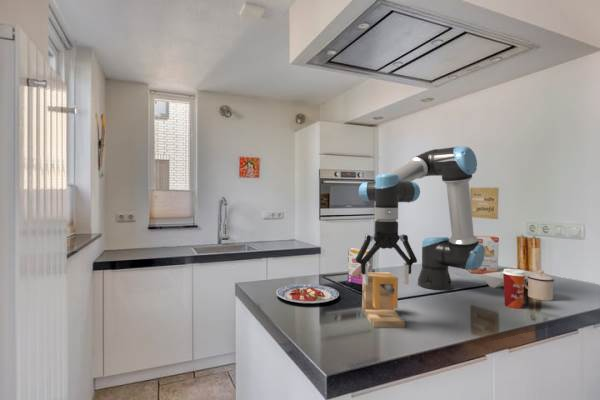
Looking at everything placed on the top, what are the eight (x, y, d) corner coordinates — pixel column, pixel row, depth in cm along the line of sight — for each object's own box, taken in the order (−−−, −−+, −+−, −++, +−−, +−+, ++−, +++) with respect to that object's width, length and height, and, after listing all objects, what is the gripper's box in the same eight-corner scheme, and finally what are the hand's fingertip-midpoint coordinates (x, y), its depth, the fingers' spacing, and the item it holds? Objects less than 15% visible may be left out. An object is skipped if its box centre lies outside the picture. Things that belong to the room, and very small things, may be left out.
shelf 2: (542, 284, 164) (542, 274, 163) (504, 290, 151) (504, 279, 151) (518, 279, 174) (518, 269, 174) (481, 284, 161) (481, 274, 161)
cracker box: (471, 273, 184) (472, 236, 184) (467, 271, 190) (468, 235, 190) (498, 274, 182) (499, 237, 182) (493, 272, 188) (494, 236, 188)
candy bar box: (347, 282, 160) (347, 248, 160) (351, 280, 164) (351, 247, 164) (369, 286, 154) (369, 251, 154) (372, 284, 158) (373, 250, 158)
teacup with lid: (558, 300, 137) (559, 272, 137) (543, 302, 134) (543, 273, 134) (530, 292, 148) (531, 266, 148) (515, 293, 145) (516, 267, 145)
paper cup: (517, 310, 123) (518, 273, 123) (497, 304, 130) (498, 269, 130) (529, 307, 127) (530, 271, 127) (509, 301, 133) (509, 267, 133)
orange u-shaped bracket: (372, 305, 111) (372, 275, 111) (394, 305, 111) (394, 275, 111) (375, 308, 108) (375, 278, 108) (397, 308, 108) (397, 278, 108)
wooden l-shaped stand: (361, 310, 120) (362, 272, 120) (388, 310, 121) (389, 272, 121) (374, 329, 103) (375, 284, 103) (406, 329, 104) (407, 285, 103)
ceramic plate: (267, 292, 142) (268, 285, 142) (320, 286, 153) (320, 280, 153) (290, 311, 119) (290, 303, 119) (350, 303, 129) (351, 295, 129)
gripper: (351, 221, 105) (351, 287, 106) (428, 221, 106) (427, 286, 107) (347, 219, 113) (346, 281, 113) (418, 219, 114) (417, 280, 114)
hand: (385, 283), depth 110 cm, fingers open, 13 cm apart
